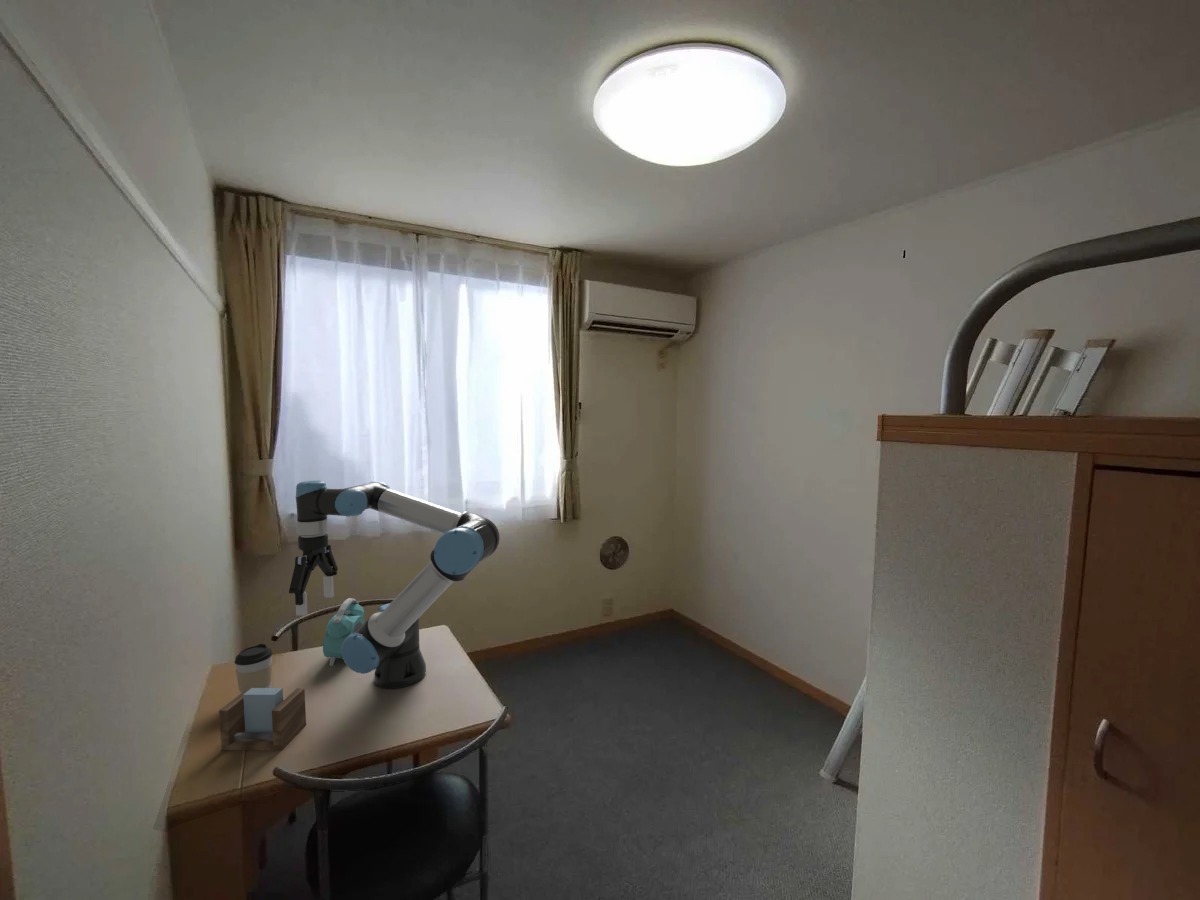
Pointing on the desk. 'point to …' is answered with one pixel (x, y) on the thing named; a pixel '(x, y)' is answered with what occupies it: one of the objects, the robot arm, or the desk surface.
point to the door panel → (260, 708)
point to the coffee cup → (254, 667)
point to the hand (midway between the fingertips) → (316, 605)
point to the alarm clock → (342, 628)
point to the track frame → (285, 727)
